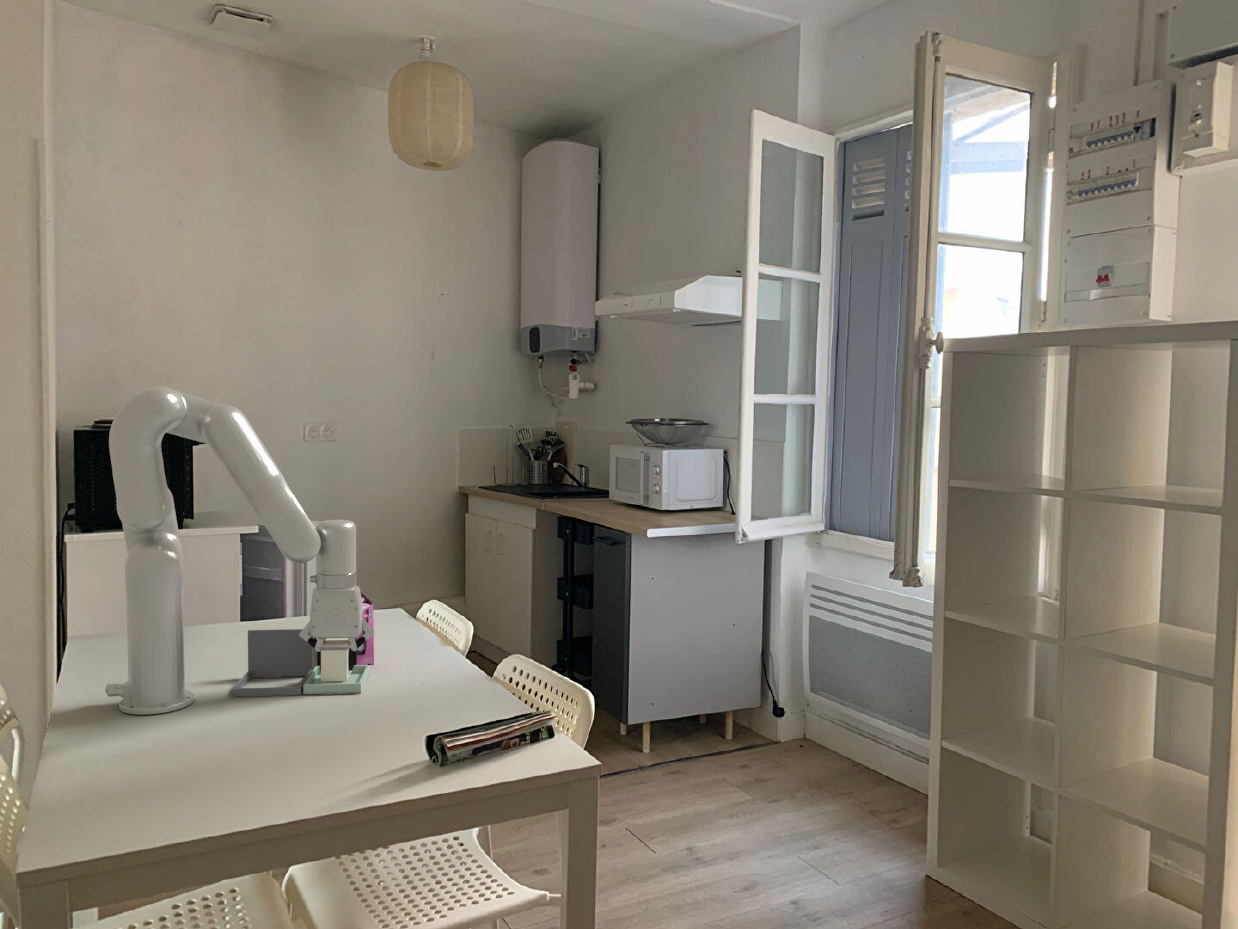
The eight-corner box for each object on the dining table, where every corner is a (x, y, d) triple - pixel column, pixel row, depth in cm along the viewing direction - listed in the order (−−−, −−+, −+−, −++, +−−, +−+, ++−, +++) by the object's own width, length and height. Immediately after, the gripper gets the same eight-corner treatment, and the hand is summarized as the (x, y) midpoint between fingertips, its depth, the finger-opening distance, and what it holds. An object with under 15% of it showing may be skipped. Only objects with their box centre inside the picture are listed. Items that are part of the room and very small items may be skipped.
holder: (231, 697, 180) (230, 646, 179) (248, 677, 193) (248, 630, 192) (300, 695, 181) (300, 645, 181) (313, 675, 194) (313, 628, 194)
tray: (303, 695, 182) (303, 685, 181) (315, 675, 194) (315, 666, 194) (360, 693, 183) (360, 683, 183) (369, 674, 196) (369, 665, 196)
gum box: (376, 666, 202) (376, 605, 201) (339, 670, 199) (339, 608, 198) (357, 640, 224) (356, 585, 223) (323, 643, 220) (322, 587, 219)
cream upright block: (320, 681, 184) (320, 647, 184) (327, 669, 192) (327, 636, 192) (347, 680, 185) (347, 646, 184) (353, 669, 193) (353, 636, 193)
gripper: (289, 585, 182) (289, 675, 184) (377, 584, 185) (377, 673, 186) (297, 577, 190) (297, 664, 191) (382, 577, 192) (382, 663, 193)
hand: (337, 668), depth 188 cm, fingers closed on cream upright block, 5 cm apart
